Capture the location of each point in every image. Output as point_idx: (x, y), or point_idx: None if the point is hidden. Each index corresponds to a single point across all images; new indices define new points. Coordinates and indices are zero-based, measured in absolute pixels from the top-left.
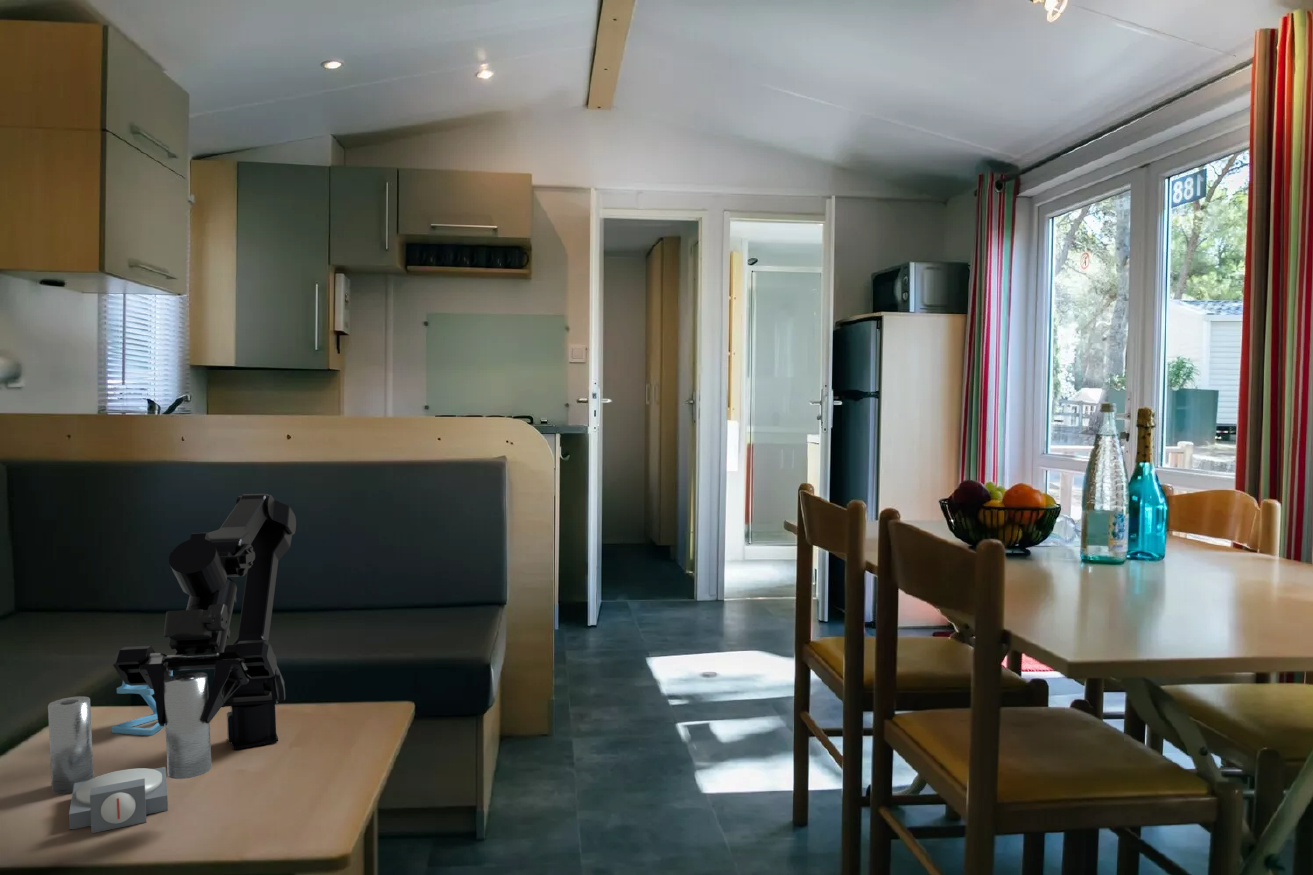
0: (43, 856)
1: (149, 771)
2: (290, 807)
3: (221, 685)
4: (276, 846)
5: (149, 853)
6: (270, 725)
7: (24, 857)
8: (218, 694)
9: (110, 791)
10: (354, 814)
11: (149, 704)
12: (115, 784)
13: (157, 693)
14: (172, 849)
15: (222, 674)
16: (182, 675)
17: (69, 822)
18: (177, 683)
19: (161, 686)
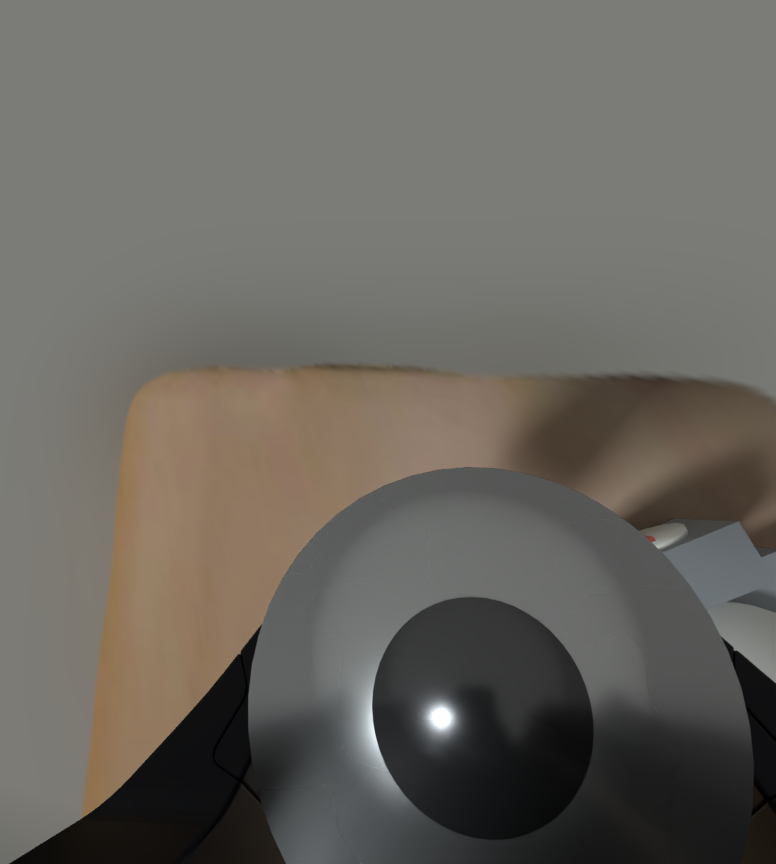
0: (716, 413)
1: None
2: (254, 594)
3: (196, 712)
4: (243, 411)
5: (479, 405)
6: None
7: (761, 412)
8: (245, 651)
9: (687, 544)
10: (122, 535)
11: None
12: (705, 600)
13: (739, 676)
14: (439, 418)
15: (127, 822)
16: (573, 850)
17: (761, 548)
18: (480, 488)
19: (760, 748)
